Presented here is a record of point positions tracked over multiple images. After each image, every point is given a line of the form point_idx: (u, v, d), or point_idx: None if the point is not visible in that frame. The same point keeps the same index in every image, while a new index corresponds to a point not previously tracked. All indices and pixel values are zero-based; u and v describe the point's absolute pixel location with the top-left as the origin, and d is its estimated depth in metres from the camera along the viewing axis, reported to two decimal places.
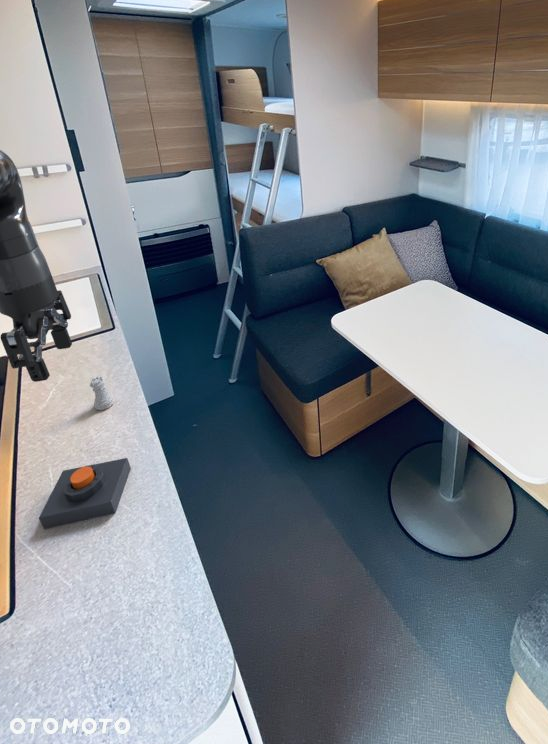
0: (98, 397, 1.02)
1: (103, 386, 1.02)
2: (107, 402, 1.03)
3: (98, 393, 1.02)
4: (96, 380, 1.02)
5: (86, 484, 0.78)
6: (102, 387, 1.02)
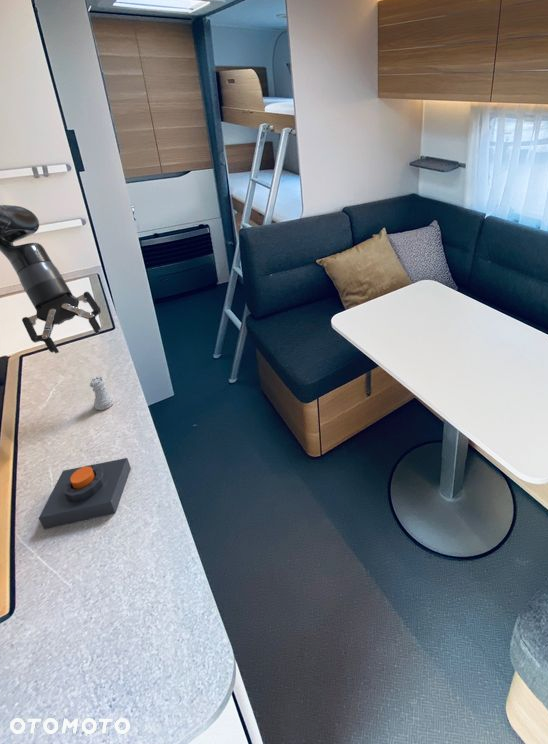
0: (98, 397, 1.02)
1: (103, 386, 1.02)
2: (107, 402, 1.03)
3: (98, 393, 1.02)
4: (96, 380, 1.02)
5: (86, 484, 0.78)
6: (102, 387, 1.02)
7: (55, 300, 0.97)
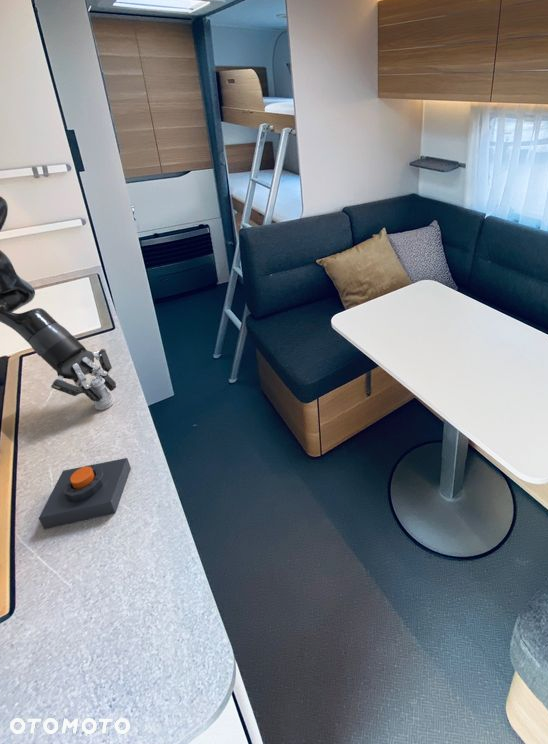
0: None
1: (103, 386, 1.02)
2: (107, 402, 1.03)
3: None
4: (96, 380, 1.02)
5: (86, 484, 0.78)
6: (102, 387, 1.02)
7: (74, 356, 1.01)
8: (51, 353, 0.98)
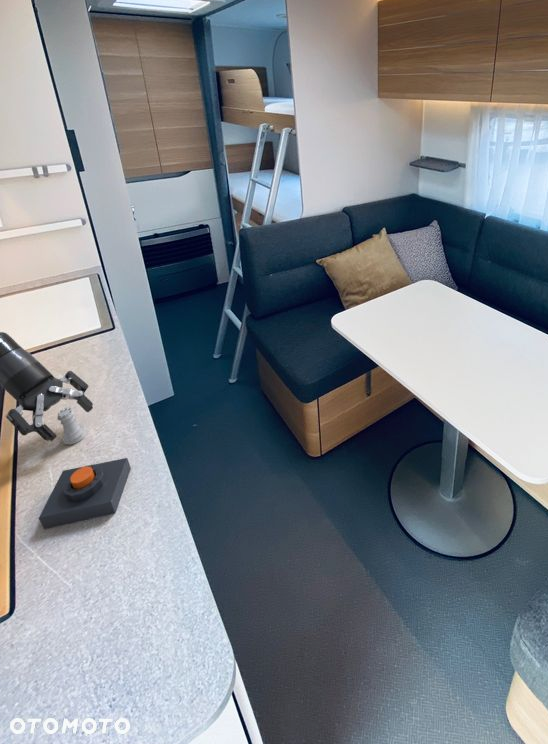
0: (67, 431, 0.92)
1: (72, 418, 0.93)
2: (77, 436, 0.93)
3: (67, 426, 0.92)
4: (64, 412, 0.92)
5: (86, 484, 0.78)
6: (71, 420, 0.92)
7: (39, 385, 0.91)
8: (13, 383, 0.88)
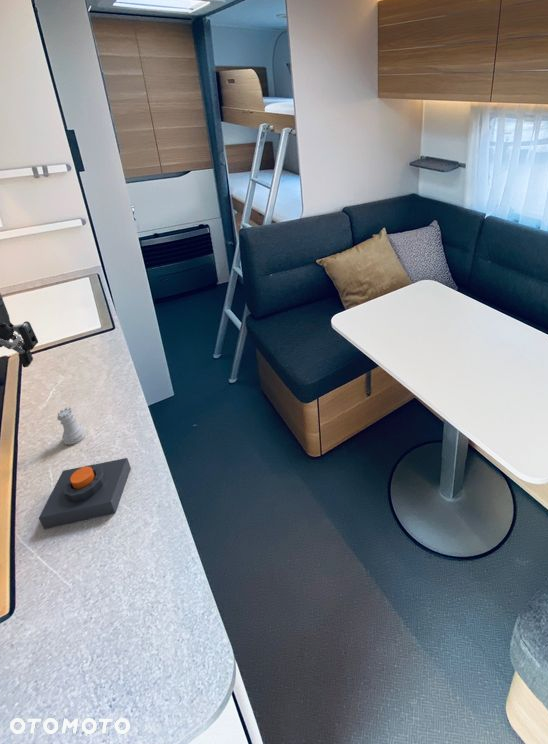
0: (67, 431, 0.92)
1: (72, 418, 0.93)
2: (77, 436, 0.93)
3: (67, 426, 0.92)
4: (64, 412, 0.92)
5: (86, 484, 0.78)
6: (71, 420, 0.92)
7: None
8: None
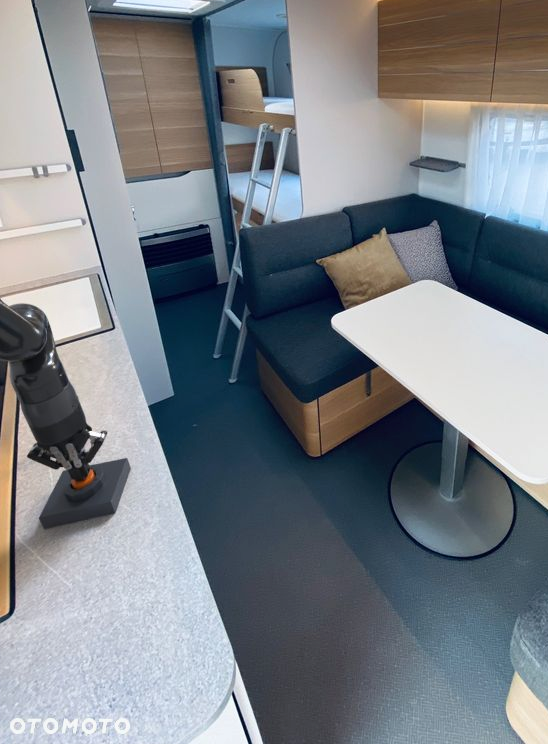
0: None
1: None
2: None
3: None
4: None
5: None
6: None
7: None
8: (30, 428, 0.71)
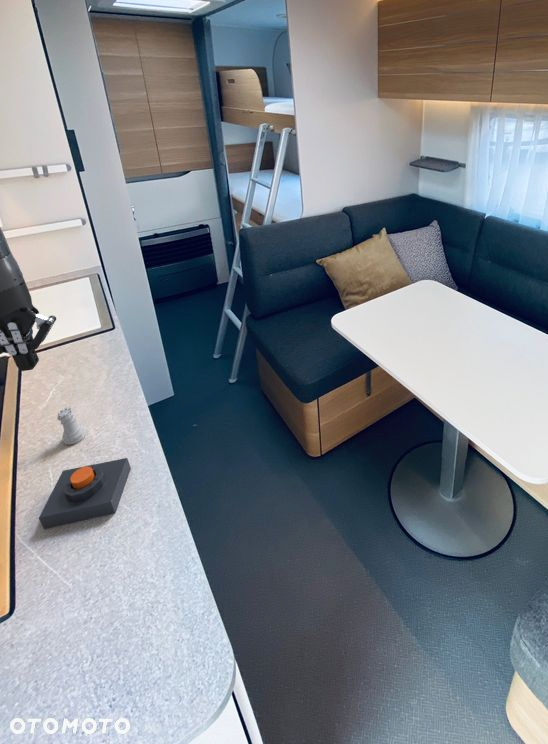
0: (67, 431, 0.92)
1: (72, 418, 0.93)
2: (77, 436, 0.93)
3: (67, 426, 0.92)
4: (64, 412, 0.92)
5: (86, 484, 0.78)
6: (71, 420, 0.92)
7: None
8: None
